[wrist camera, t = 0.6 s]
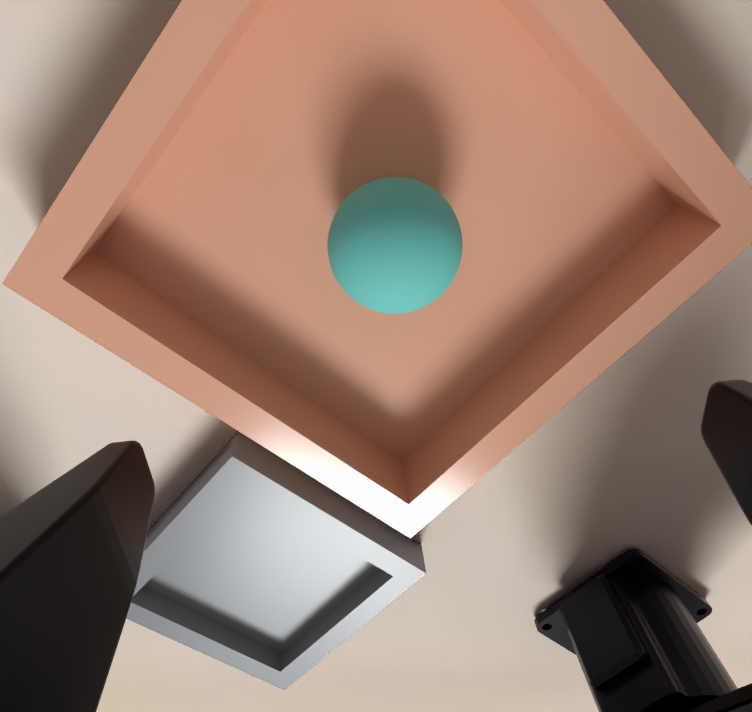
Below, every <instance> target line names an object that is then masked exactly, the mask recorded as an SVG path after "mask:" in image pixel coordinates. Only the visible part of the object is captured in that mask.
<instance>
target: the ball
mask: <svg viewBox="0 0 752 712" xmlns="http://www.w3.org/2000/svg"><path fill="white" fill-rule="evenodd" d="M462 245H463V244H462V233H461V228H460V225H459V222H458V219H457V217H456V215H455V213H454V211H453V209H452V207H451V206H450V204H449V203H448V202H447V201H446V199H445V198H444V197H443V196H442V195H441V194H440V193H438V192H437V191H436V190H435V189H433V188H432V187H430V186H428V185H427V184H425V183H423V182H420V181H418V180H415V179H411V178H406V177H386V178H380V179H377V180H373V181H371V182H368V183H366V184H364V185H362V186H361V187H359V188H357V189H356V190H355V191H354V192H352V193H351V194H350V195H349V196H348V197H347V198H346V199H345V200H344V201H343V202H342V204H341V205H340V206H339V208H338V210H337V211H336V213H335V215H334V217H333V220H332V223H331V225H330V230H329V234H328V242H327V246H328V257H329V262H330V266H331V269H332V272H333V274H334V276H335V278H336V280H337V281H338V283H339V284H340V286H341V288H342V289H343V290H344V291H345V292H346V293H347V294H348V295H349V296H350V297H351V298H352V299H353V300H355V301H356V302H357V303H359V304H360V305H362V306H364V307H366V308H368V309H371V310H374V311H376V312H381V313H387V314H402V313H409V312H412V311H416V310H418V309H421V308H423V307H425V306H427V305H429V304H431V303H432V302H433V301H435V300H436V299H437V298H439V297H440V296H441V295H442V294H443V293H444V292H445V291H446V289H447V288H448V287H449V285H450V284H451V282H452V281H453V279H454V277H455V275H456V273H457V271H458V268H459V265H460V262H461V257H462Z"/></svg>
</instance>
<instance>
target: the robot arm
mask: <svg viewBox="0 0 752 712" xmlns="http://www.w3.org/2000/svg"><path fill="white" fill-rule="evenodd" d="M701 433H702V437H703V440H704V442H705V444H706V446H707V448H708V450H709V451H710V453H711V455H712V457H713V459H714V460H715V462H716V464H717V466H718V468H719V469H720V471H721V473H722V475H723V477H724V478H725V480H726V482H727V484H728V486H729V487H730V489H731V491H732V493H733V495H734V496H735V498H736V500H737V502H738V504H739V505H740V507H741V509H742V511H743V512H744V514H745V516H746V517H747V519H748V521H749V522H750V524H751V525H752V383H750V382H747V381H744V380H730V381H720V382H715V383H714V384H713V385H711V387H710V389H709V391H708V396H707V400H706V405H705V410H704V415H703V419H702V424H701ZM154 496H155V487H154V482H153V478H152V475H151V472H150V469H149V466H148V463H147V460H146V457H145V454H144V451H143V448H142V446H141V445H140V443H138V442H136V441H125V442H115V443H110V444H108V445H107V446H105V447H104V448H102V449H101V450H99V451H98V452H96V453H95V454H93V455H92V456H90V457H89V458H87V459H86V460H84V461H83V462H81V463H80V464H79V465H77V466H76V467H74V468H73V469H71V470H70V471H68V472H67V473H65V474H64V475H62V476H61V477H59V478H58V479H56V480H55V481H53V482H52V483H50V484H49V485H47V486H46V487H44V488H43V489H41V490H40V491H38V492H37V493H35V494H34V495H32V496H31V497H29V498H28V499H26V500H25V501H23V502H22V503H20V504H19V505H17V506H16V507H14V508H13V509H11V510H10V511H8V512H7V513H5V514H4V515H2V516H1V517H0V712H96V710H97V707H98V704H99V701H100V698H101V695H102V692H103V688H104V685H105V682H106V679H107V676H108V673H109V670H110V667H111V664H112V661H113V657H114V654H115V651H116V648H117V645H118V642H119V639H120V636H121V633H122V630H123V626H124V623H125V620H126V617H127V614H128V611H129V608H130V605H131V602H132V598H133V595H134V592H135V588H136V585H137V581H138V576H139V572H140V567H141V562H142V557H143V552H144V547H145V542H146V537H147V532H148V527H149V522H150V517H151V512H152V507H153V501H154ZM711 612H712V608H711V606H710V605H709V603H708V602H707V601H706V599H704V598H703V597H702V596H700V595H699V594H698V593H696V592H695V591H694V590H692V589H691V588H690V587H688V586H687V585H686V584H684V583H683V582H682V581H680V580H679V579H678V578H676V577H675V576H674V575H673V574H671V573H670V572H669V571H667V570H666V569H665V568H663V567H662V566H661V565H659V564H658V563H657V562H655V561H654V560H653V559H651V558H650V557H649V556H647V555H646V554H645V553H643V552H642V551H641V550H639V549H631V550H628V551H627V552H625V553H624V554H622V555H621V556H619V557H618V558H617V559H615V560H614V561H613V562H611V563H610V564H608V565H607V566H606V567H604V568H603V569H602V570H600V571H599V572H597V573H596V574H595V575H593V576H592V577H591V578H589V579H588V580H587V581H585V582H584V583H582V584H581V585H580V586H578V587H577V588H576V589H574V590H573V591H571V592H570V593H569V594H567V595H566V596H565V597H563V598H562V599H560V600H559V601H558V602H556V603H555V604H554V605H552V606H551V607H549V608H548V609H547V610H545V611H544V612H543V613H541V614H540V615H538V616H537V617H536V619H535V624H536V627H537V630H538V631H539V632H540V633H541V634H543V635H545V636H546V637H548V638H550V639H551V640H553V641H554V642H556V643H558V644H559V645H561V646H563V647H564V648H566V649H568V650H569V651H571V652H572V653H574V654H576V655H577V657H578V660H579V662H580V665H581V667H582V670H583V672H584V675H585V677H586V680H587V682H588V685H589V687H590V690H591V692H592V695H593V698H594V700H595V703H596V705H597V708H598V710H599V712H752V683H751V684H749V685H746V686H744V687H741V688H739V689H738V688H737V687H736V685H735V684H734V682H733V680H732V679H731V677H730V676H729V674H728V673H727V671H726V669H725V668H724V666H723V665H722V663H721V661H720V660H719V658H718V657H717V655H716V653H715V652H714V650H713V649H712V647H711V645H710V644H709V642H708V641H707V639H706V637H705V636H704V634H703V633H702V631H701V630H700V628H699V626H698V625H697V623H698V622H699V621H701V620H702V619H704V618H705V617H707V616H708V615H709V614H710V613H711Z"/></svg>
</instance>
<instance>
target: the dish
mask: <svg viewBox="0 0 752 712" xmlns="http://www.w3.org/2000/svg"><path fill="white" fill-rule="evenodd" d="M386 177H406V178H411V179H415V180H418V181H420V182H423V183H425V184H427V185H428V186H430V187H432V188H433V189H435V190H436V191H437V192H438V193H440V194H441V195H442V196H443V197H444V198H445V199H446V201H447V202H448V203H449V204H450V206H451V207H452V209H453V211H454V213H455V215H456V217H457V219H458V222H459V225H460V228H461V233H462V244H463V245H462V257H461V262H460V265H459V268H458V271H457V273H456V275H455V277H454V279H453V281H452V282H451V284H450V285H449V287H448V288H447V289H446V291H445V292H444V293H443V294H442V295H441V296H440V297H439V298H437V299H436V300H435V301H433V302H432V303H431V304H429V305H427V306H425V307H423V308H421V309H418V310H416V311H412V312H409V313H402V314H387V313H381V312H376V311H374V310H371V309H368V308H366V307H364V306H362V305H360V304H359V303H357V302H356V301H355V300H353V299H352V298H351V297H350V296H349V295H348V294H347V293H346V292H345V291H344V290H343V289H342V288H341V286H340V284H339V283H338V281H337V280H336V278H335V276H334V274H333V272H332V269H331V266H330V262H329V257H328V246H327V242H328V234H329V230H330V225H331V223H332V220H333V217H334V215H335V213H336V211H337V210H338V208H339V206H340V205H341V204H342V202H343V201H344V200H345V199H346V198H347V197H348V196H349V195H350V194H351V193H352V192H354V191H355V190H356V189H357V188H359V187H361V186H362V185H364V184H366V183H368V182H371V181H373V180H377V179H380V178H386ZM751 244H752V187H751V186H750V185H749V183H748V182H747V181H746V180H745V178H744V177H743V176H742V175H741V173H740V172H739V171H738V170H737V168H736V167H735V166H734V165H733V163H732V162H731V161H730V159H729V158H728V157H727V156H726V154H725V153H724V152H723V151H722V149H721V148H720V147H719V146H718V144H717V143H716V142H715V141H714V139H713V138H712V137H711V135H710V134H709V133H708V132H707V130H706V129H705V128H704V127H703V125H702V124H701V123H700V122H699V120H698V119H697V118H696V117H695V115H694V114H693V113H692V112H691V110H690V109H689V108H688V106H687V105H686V104H685V103H684V101H683V100H682V99H681V98H680V96H679V95H678V94H677V93H676V91H675V90H674V89H673V88H672V86H671V85H670V84H669V82H668V81H667V80H666V79H665V77H664V76H663V75H662V74H661V72H660V71H659V70H658V69H657V67H656V66H655V65H654V64H653V62H652V61H651V60H650V58H649V57H648V56H647V55H646V53H645V52H644V51H643V50H642V48H641V47H640V46H639V45H638V43H637V42H636V41H635V40H634V38H633V37H632V36H631V34H630V33H629V32H628V31H627V29H626V28H625V27H624V26H623V24H622V23H621V22H620V21H619V19H618V18H617V17H616V16H615V14H614V13H613V12H612V11H611V9H610V8H609V7H608V5H607V4H606V3H605V2H604V0H182V1H181V2H180V4H179V6H178V7H177V9H176V10H175V12H174V13H173V15H172V17H171V18H170V20H169V21H168V23H167V24H166V26H165V28H164V29H163V31H162V32H161V34H160V36H159V37H158V39H157V40H156V42H155V43H154V45H153V47H152V48H151V50H150V51H149V53H148V54H147V56H146V58H145V59H144V61H143V62H142V64H141V65H140V67H139V69H138V70H137V72H136V73H135V75H134V77H133V78H132V80H131V81H130V83H129V84H128V86H127V88H126V89H125V91H124V92H123V94H122V95H121V97H120V99H119V100H118V102H117V103H116V105H115V107H114V108H113V110H112V111H111V113H110V114H109V116H108V118H107V119H106V121H105V122H104V124H103V125H102V127H101V129H100V130H99V132H98V133H97V135H96V136H95V138H94V140H93V141H92V143H91V144H90V146H89V148H88V149H87V151H86V152H85V154H84V155H83V157H82V159H81V160H80V162H79V163H78V165H77V166H76V168H75V170H74V171H73V173H72V174H71V176H70V177H69V179H68V181H67V182H66V184H65V185H64V187H63V189H62V190H61V192H60V193H59V195H58V196H57V198H56V200H55V201H54V203H53V204H52V206H51V207H50V209H49V211H48V212H47V214H46V215H45V217H44V218H43V220H42V222H41V223H40V225H39V226H38V228H37V230H36V231H35V233H34V234H33V236H32V237H31V239H30V241H29V242H28V244H27V245H26V247H25V248H24V250H23V252H22V253H21V255H20V256H19V258H18V259H17V261H16V263H15V264H14V266H13V267H12V269H11V271H10V272H9V274H8V275H7V277H6V278H5V280H4V282H3V283H2V284H3V285H5V286H6V287H8V288H10V289H11V290H13V291H15V292H16V293H18V294H19V295H21V296H23V297H24V298H26V299H27V300H29V301H31V302H32V303H34V304H35V305H37V306H39V307H40V308H42V309H43V310H45V311H47V312H48V313H50V314H51V315H53V316H55V317H56V318H58V319H59V320H61V321H63V322H64V323H66V324H67V325H69V326H71V327H72V328H74V329H75V330H77V331H79V332H80V333H82V334H83V335H85V336H87V337H88V338H90V339H91V340H93V341H95V342H96V343H98V344H99V345H101V346H103V347H104V348H106V349H107V350H109V351H111V352H112V353H114V354H115V355H117V356H119V357H120V358H122V359H123V360H125V361H127V362H128V363H130V364H132V365H133V366H135V367H136V368H138V369H140V370H141V371H143V372H144V373H146V374H148V375H149V376H151V377H152V378H154V379H156V380H157V381H159V382H160V383H162V384H164V385H165V386H167V387H168V388H170V389H172V390H173V391H175V392H176V393H178V394H180V395H181V396H183V397H184V398H186V399H188V400H189V401H191V402H192V403H194V404H196V405H197V406H199V407H200V408H202V409H204V410H205V411H207V412H208V413H210V414H212V415H213V416H215V417H216V418H218V419H220V420H221V421H223V422H224V423H226V424H228V425H229V426H231V427H232V428H234V429H236V430H237V431H239V432H240V433H242V434H244V435H245V436H247V437H248V438H250V439H252V440H253V441H255V442H257V443H258V444H260V445H261V446H263V447H265V448H266V449H268V450H269V451H271V452H273V453H274V454H276V455H277V456H279V457H281V458H282V459H284V460H285V461H287V462H289V463H290V464H292V465H293V466H295V467H297V468H298V469H300V470H301V471H303V472H305V473H306V474H308V475H309V476H311V477H313V478H314V479H316V480H317V481H319V482H321V483H322V484H324V485H325V486H327V487H329V488H330V489H332V490H333V491H335V492H337V493H338V494H340V495H341V496H343V497H345V498H346V499H348V500H349V501H351V502H353V503H354V504H356V505H357V506H359V507H361V508H362V509H364V510H365V511H367V512H369V513H370V514H372V515H373V516H375V517H377V518H378V519H380V520H382V521H383V522H385V523H386V524H388V525H390V526H391V527H393V528H394V529H396V530H398V531H399V532H401V533H402V534H404V535H406V536H407V537H409V538H412V537H413V536H414V535H415V534H416V533H417V532H419V531H420V530H421V529H422V528H423V527H424V526H426V525H427V524H428V523H429V522H430V521H431V520H432V519H434V518H435V517H436V516H437V515H438V514H439V513H441V512H442V511H443V510H444V509H445V508H446V507H448V506H449V505H450V504H451V503H452V502H453V501H454V500H456V499H457V498H458V497H459V496H460V495H461V494H463V493H464V492H465V491H466V490H467V489H468V488H470V487H471V486H472V485H473V484H474V483H475V482H477V481H478V480H479V479H480V478H481V477H482V476H483V475H485V474H486V473H487V472H488V471H489V470H490V469H492V468H493V467H494V466H495V465H496V464H497V463H499V462H500V461H501V460H502V459H503V458H504V457H505V456H507V455H508V454H509V453H510V452H511V451H512V450H514V449H515V448H516V447H517V446H518V445H519V444H521V443H522V442H523V441H524V440H525V439H526V438H527V437H529V436H530V435H531V434H532V433H533V432H534V431H536V430H537V429H538V428H539V427H540V426H541V425H543V424H544V423H545V422H546V421H547V420H548V419H549V418H551V417H552V416H553V415H554V414H555V413H556V412H558V411H559V410H560V409H561V408H562V407H563V406H565V405H566V404H567V403H568V402H569V401H570V400H571V399H573V398H574V397H575V396H576V395H577V394H578V393H580V392H581V391H582V390H583V389H584V388H585V387H587V386H588V385H589V384H590V383H591V382H592V381H593V380H595V379H596V378H597V377H598V376H599V375H600V374H602V373H603V372H604V371H605V370H606V369H607V368H609V367H610V366H611V365H612V364H613V363H614V362H616V361H617V360H618V359H619V358H620V357H621V356H622V355H624V354H625V353H626V352H627V351H628V350H629V349H631V348H632V347H633V346H634V345H635V344H636V343H638V342H639V341H640V340H641V339H642V338H643V337H644V336H646V335H647V334H648V333H649V332H650V331H651V330H653V329H654V328H655V327H656V326H657V325H658V324H660V323H661V322H662V321H663V320H664V319H665V318H666V317H668V316H669V315H670V314H671V313H672V312H673V311H675V310H676V309H677V308H678V307H679V306H680V305H682V304H683V303H684V302H685V301H686V300H687V299H688V298H690V297H691V296H692V295H693V294H694V293H695V292H697V291H698V290H699V289H700V288H701V287H702V286H704V285H705V284H706V283H707V282H708V281H709V280H710V279H712V278H713V277H714V276H715V275H716V274H717V273H719V272H720V271H721V270H722V269H723V268H724V267H726V266H727V265H728V264H729V263H730V262H731V261H732V260H734V259H735V258H736V257H737V256H738V255H739V254H741V253H742V252H743V251H744V250H745V249H746V248H748V247H749V246H750V245H751Z"/></svg>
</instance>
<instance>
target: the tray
mask: <svg viewBox="0 0 752 712" xmlns="http://www.w3.org/2000/svg"><path fill="white" fill-rule="evenodd" d="M425 574H426V570H425V564H424V558H423V552H422V547H421V545H420V544H418V543H417V542H415V541H413V540H412V539H410V538H409V537H407V536H405V535H404V534H402V533H401V532H399V531H397V530H396V529H394V528H393V527H391V526H389V525H388V524H386V523H385V522H383V521H381V520H380V519H378V518H377V517H375V516H373V515H372V514H370V513H369V512H367V511H365V510H364V509H362V508H361V507H359V506H357V505H356V504H354V503H353V502H351V501H349V500H348V499H346V498H344V497H343V496H341V495H340V494H338V493H336V492H335V491H333V490H332V489H330V488H328V487H327V486H325V485H324V484H322V483H320V482H319V481H317V480H316V479H314V478H312V477H311V476H309V475H308V474H306V473H304V472H303V471H301V470H300V469H298V468H296V467H295V466H293V465H292V464H290V463H288V462H287V461H285V460H284V459H282V458H280V457H279V456H277V455H276V454H274V453H272V452H271V451H269V450H268V449H266V448H264V447H263V446H261V445H260V444H258V443H256V442H255V441H253V440H252V439H250V438H248V437H247V436H245V435H244V434H242V433H240V432H238V433H237V434H236V435H235V436H234V437H233V438H232V439H231V440H230V441H229V443H228V444H227V445H226V446H225V447H224V448H223V449H222V450H221V451H220V452H219V453H218V455H217V456H216V457H215V458H214V459H213V460H212V461H211V462H210V463H209V464H208V466H207V467H206V468H205V469H204V470H203V471H202V472H201V473H200V474H199V475H198V477H197V478H196V479H195V480H194V481H193V482H192V483H191V484H190V485H189V486H188V488H187V489H186V490H185V491H184V492H183V493H182V494H181V495H180V496H179V497H178V499H177V500H176V501H175V502H174V503H173V504H172V505H171V506H170V507H169V508H168V509H167V511H166V512H165V513H164V514H163V515H162V516H161V517H160V518H159V519H158V520H157V522H156V523H155V524H154V525H153V526H152V527H151V528H150V529H149V530H148V532H147V537H146V542H145V547H144V552H143V557H142V562H141V567H140V572H139V576H138V581H137V585H136V588H135V592H134V595H133V598H132V602H131V605H130V608H129V611H128V614H127V617H126V619H129V620H131V621H133V622H135V623H137V624H140V625H142V626H144V627H146V628H148V629H151V630H153V631H155V632H157V633H160V634H162V635H164V636H166V637H168V638H171V639H173V640H175V641H177V642H179V643H182V644H184V645H186V646H188V647H190V648H193V649H195V650H197V651H199V652H201V653H204V654H206V655H208V656H210V657H212V658H215V659H217V660H219V661H221V662H223V663H226V664H228V665H230V666H232V667H234V668H237V669H239V670H241V671H243V672H245V673H248V674H250V675H252V676H254V677H257V678H259V679H261V680H263V681H265V682H268V683H270V684H272V685H274V686H276V687H279V688H281V689H283V690H285V689H287V688H288V687H289V686H290V685H291V684H293V683H294V682H295V681H296V680H297V679H299V678H300V677H301V676H302V675H303V674H305V673H306V672H307V671H308V670H310V669H311V668H312V667H313V666H314V665H316V664H317V663H318V662H319V661H320V660H322V659H323V658H324V657H325V656H327V655H328V654H329V653H330V652H331V651H333V650H334V649H335V648H336V647H337V646H339V645H340V644H341V643H342V642H343V641H345V640H346V639H347V638H348V637H350V636H351V635H352V634H353V633H354V632H356V631H357V630H358V629H359V628H360V627H362V626H363V625H364V624H365V623H366V622H368V621H369V620H370V619H371V618H373V617H374V616H375V615H376V614H377V613H379V612H380V611H381V610H382V609H383V608H385V607H386V606H387V605H388V604H390V603H391V602H392V601H393V600H394V599H396V598H397V597H398V596H399V595H400V594H402V593H403V592H404V591H405V590H406V589H408V588H409V587H410V586H411V585H413V584H414V583H415V582H416V581H417V580H419V579H420V578H421V577H422V576H423V575H425Z"/></svg>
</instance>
